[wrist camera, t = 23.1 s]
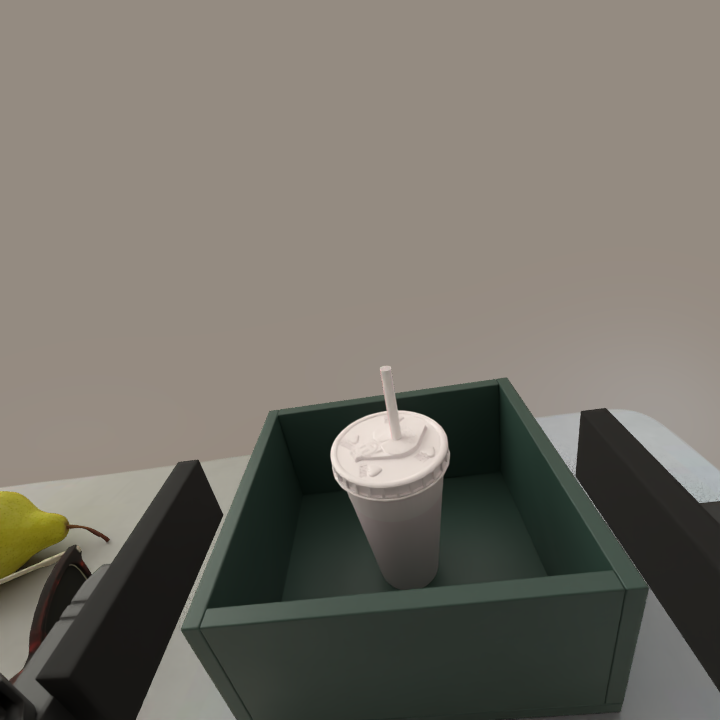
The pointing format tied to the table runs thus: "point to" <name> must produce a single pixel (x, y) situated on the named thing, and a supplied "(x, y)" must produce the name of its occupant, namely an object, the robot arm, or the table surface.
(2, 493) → the fruit
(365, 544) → the bin
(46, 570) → the table surface
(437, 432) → the smoothie
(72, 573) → the sunglasses
